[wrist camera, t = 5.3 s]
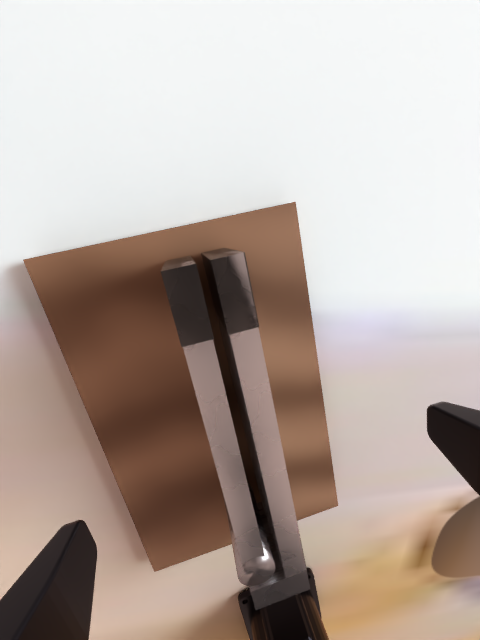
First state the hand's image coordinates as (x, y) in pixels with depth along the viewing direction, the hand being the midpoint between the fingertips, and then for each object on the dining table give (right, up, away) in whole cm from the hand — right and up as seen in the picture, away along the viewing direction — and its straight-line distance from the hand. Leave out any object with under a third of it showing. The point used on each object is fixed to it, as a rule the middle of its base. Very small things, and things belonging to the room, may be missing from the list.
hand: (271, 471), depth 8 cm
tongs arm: (-2, -1, +11) cm, 11 cm away
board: (-3, -2, +12) cm, 13 cm away
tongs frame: (-1, -2, +11) cm, 11 cm away
